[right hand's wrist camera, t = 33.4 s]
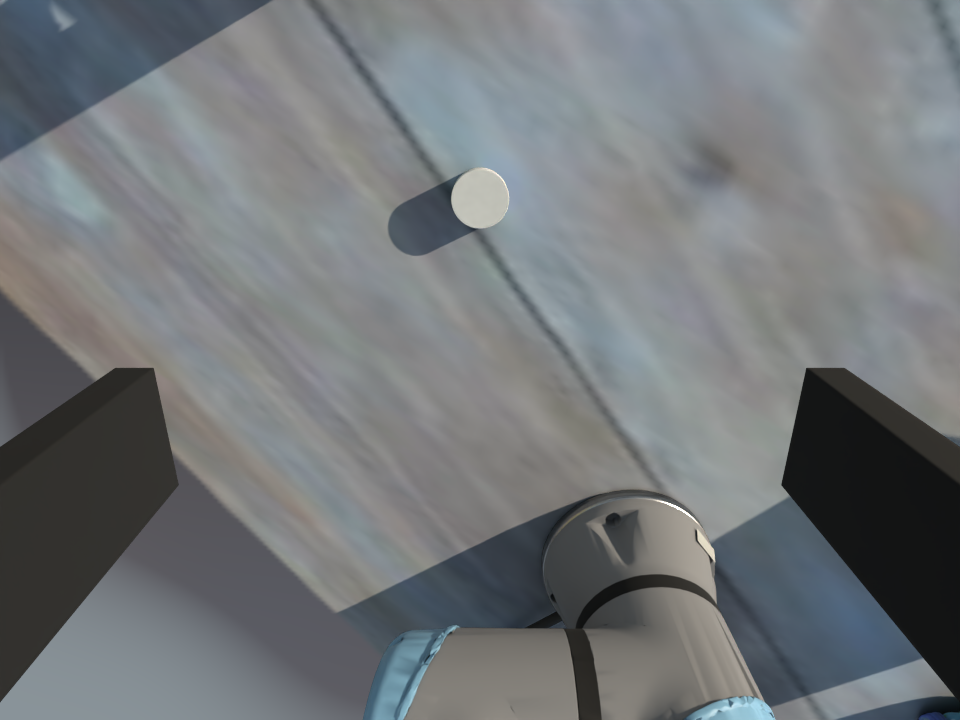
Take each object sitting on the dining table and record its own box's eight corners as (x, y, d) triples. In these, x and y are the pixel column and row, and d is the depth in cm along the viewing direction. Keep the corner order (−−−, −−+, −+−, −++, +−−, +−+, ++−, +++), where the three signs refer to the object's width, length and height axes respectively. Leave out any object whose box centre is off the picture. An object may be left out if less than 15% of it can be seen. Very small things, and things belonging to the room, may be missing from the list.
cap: (441, 188, 44) (439, 190, 42) (488, 156, 43) (489, 157, 42) (471, 235, 45) (471, 239, 44) (518, 205, 44) (519, 208, 43)
